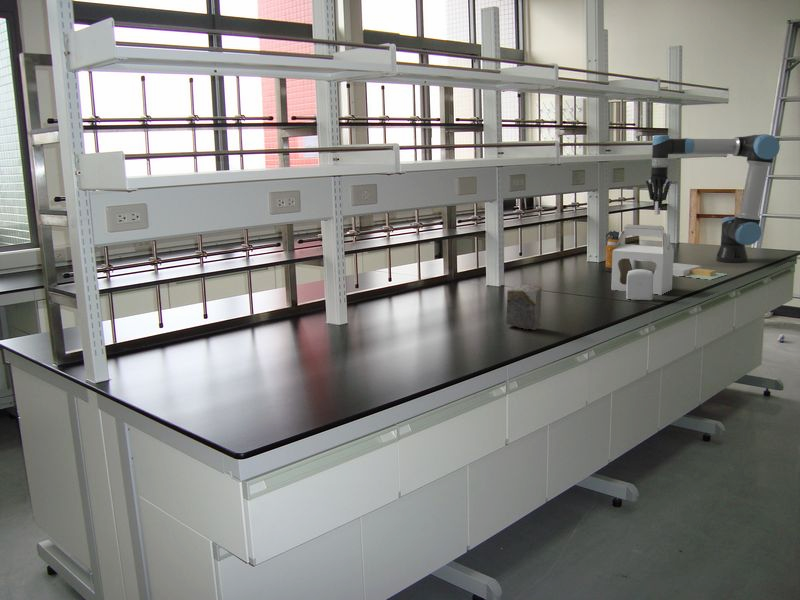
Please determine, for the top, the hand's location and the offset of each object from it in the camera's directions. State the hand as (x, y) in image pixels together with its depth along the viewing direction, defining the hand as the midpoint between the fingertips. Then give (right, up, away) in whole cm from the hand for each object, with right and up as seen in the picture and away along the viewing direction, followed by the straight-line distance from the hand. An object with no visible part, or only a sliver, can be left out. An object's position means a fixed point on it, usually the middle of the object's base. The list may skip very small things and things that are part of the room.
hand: (657, 214), depth 368 cm
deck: (+5, -30, -15) cm, 34 cm away
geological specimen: (-86, -53, -112) cm, 151 cm away
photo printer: (-33, -43, -71) cm, 90 cm away
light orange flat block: (+14, -31, -23) cm, 41 cm away
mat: (+14, -32, -25) cm, 43 cm away
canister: (-24, -29, -6) cm, 38 cm away
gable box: (-26, -39, -53) cm, 71 cm away
